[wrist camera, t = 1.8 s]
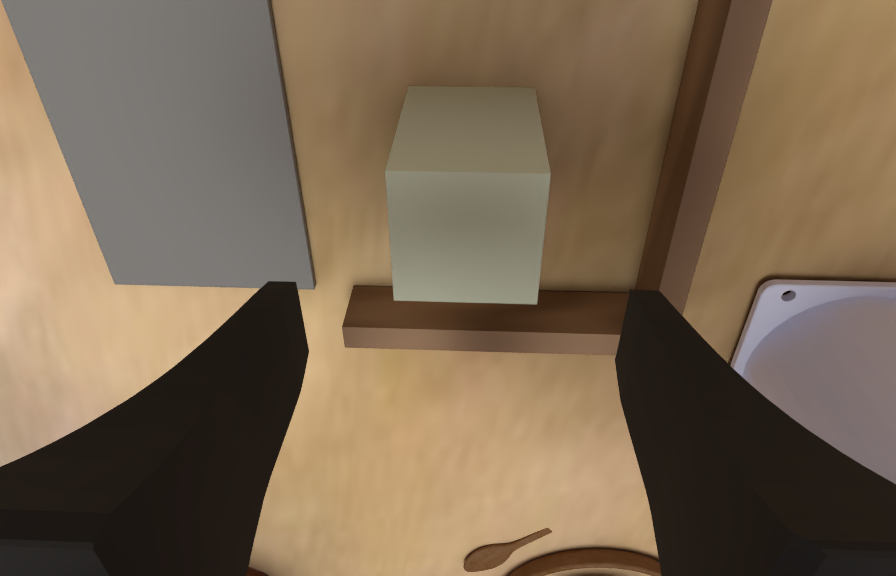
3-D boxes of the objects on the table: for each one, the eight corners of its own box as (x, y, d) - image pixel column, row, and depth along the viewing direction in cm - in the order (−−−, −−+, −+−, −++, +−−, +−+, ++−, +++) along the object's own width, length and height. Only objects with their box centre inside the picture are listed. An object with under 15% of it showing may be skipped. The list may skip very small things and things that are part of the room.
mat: (261, -57, 18) (258, -55, 18) (315, 284, 25) (314, 289, 25) (-15, -58, 18) (-22, -56, 18) (118, 279, 25) (114, 284, 25)
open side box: (758, -97, 17) (796, -85, 15) (655, 313, 25) (670, 357, 23) (309, -98, 17) (285, -86, 15) (355, 305, 26) (344, 347, 24)
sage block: (534, 87, 20) (550, 173, 15) (525, 199, 22) (537, 304, 18) (408, 85, 20) (384, 170, 15) (412, 196, 22) (393, 300, 18)
